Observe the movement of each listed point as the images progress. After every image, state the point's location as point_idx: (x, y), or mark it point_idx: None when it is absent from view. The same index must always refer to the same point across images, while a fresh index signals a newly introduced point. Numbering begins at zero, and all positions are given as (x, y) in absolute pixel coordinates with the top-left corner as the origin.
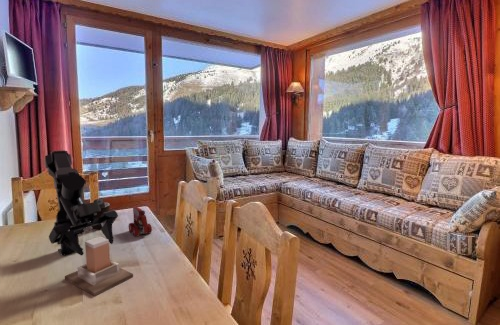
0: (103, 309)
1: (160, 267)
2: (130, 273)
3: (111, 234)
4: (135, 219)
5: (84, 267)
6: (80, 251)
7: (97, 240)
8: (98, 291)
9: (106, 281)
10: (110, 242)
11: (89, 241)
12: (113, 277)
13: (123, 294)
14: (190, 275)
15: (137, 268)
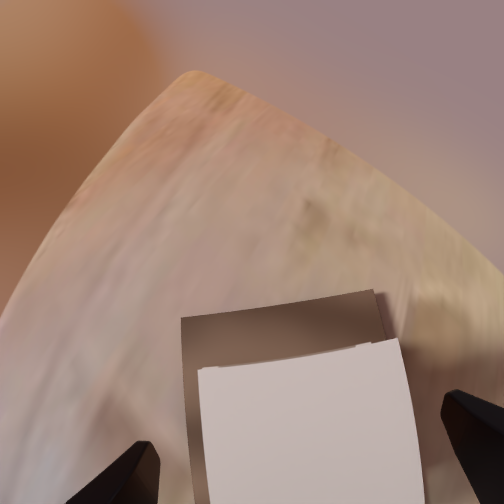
0: (364, 206)
1: (81, 301)
2: (186, 328)
3: (96, 487)
4: None
5: None
6: (474, 397)
7: (308, 451)
8: (356, 292)
9: (301, 344)
10: (155, 471)
11: (391, 486)
12: (259, 356)
13: (282, 234)
14: (87, 191)
15: (130, 375)
